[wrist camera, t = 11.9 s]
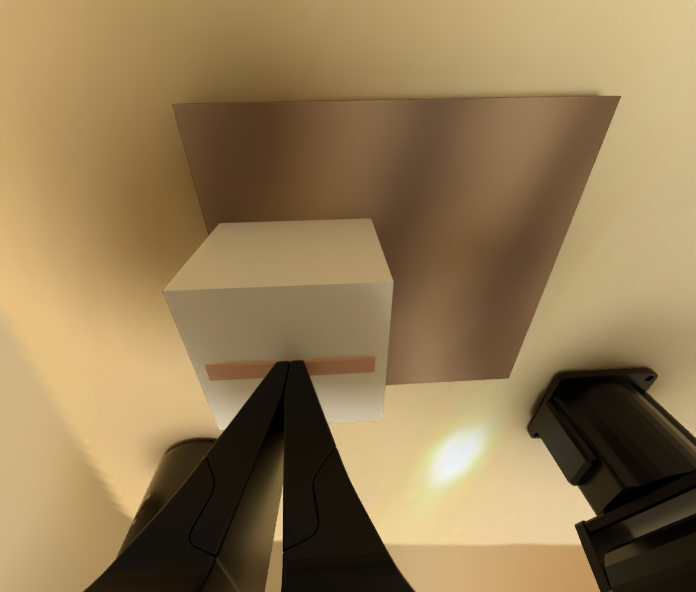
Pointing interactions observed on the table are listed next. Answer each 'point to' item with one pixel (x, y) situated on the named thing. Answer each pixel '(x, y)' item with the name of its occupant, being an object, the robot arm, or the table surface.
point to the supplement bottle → (166, 483)
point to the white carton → (288, 312)
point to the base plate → (417, 203)
